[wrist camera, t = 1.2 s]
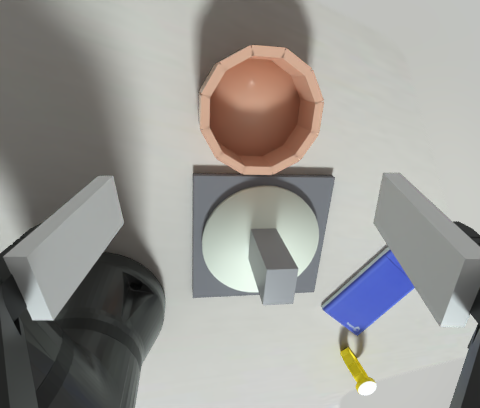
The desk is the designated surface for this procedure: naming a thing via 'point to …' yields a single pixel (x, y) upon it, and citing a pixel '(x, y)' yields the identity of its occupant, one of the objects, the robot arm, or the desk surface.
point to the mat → (223, 185)
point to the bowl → (260, 109)
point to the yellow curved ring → (358, 373)
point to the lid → (261, 242)
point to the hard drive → (369, 293)
